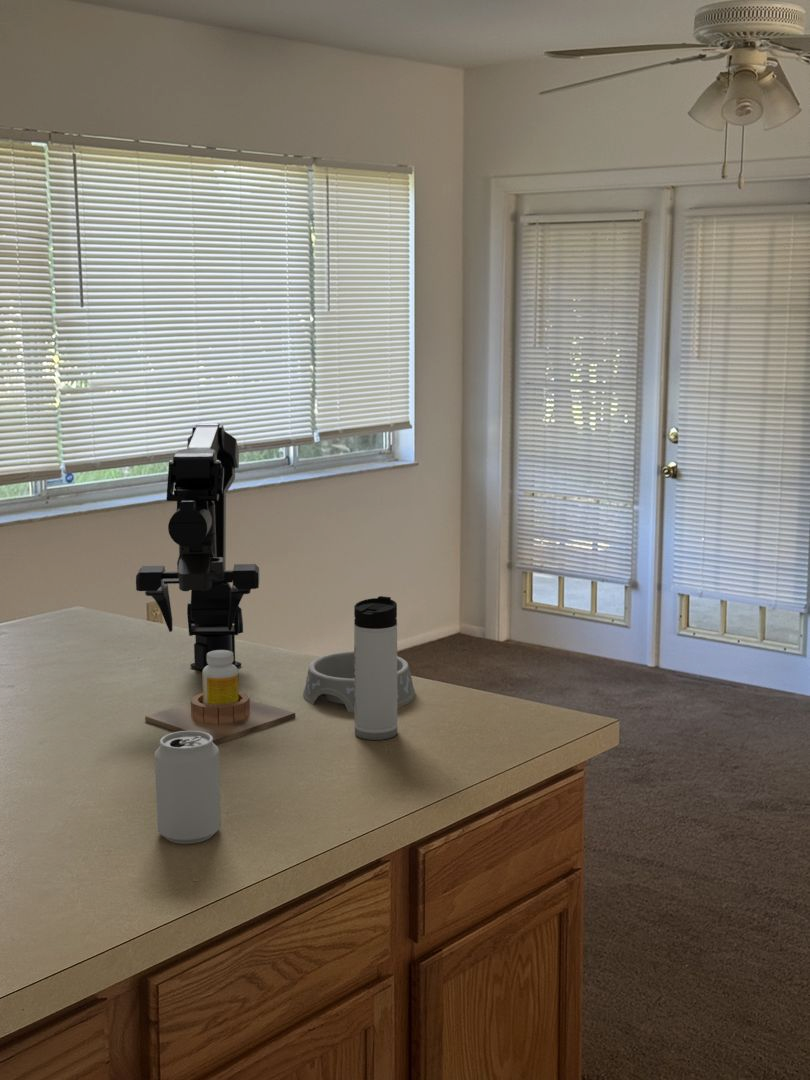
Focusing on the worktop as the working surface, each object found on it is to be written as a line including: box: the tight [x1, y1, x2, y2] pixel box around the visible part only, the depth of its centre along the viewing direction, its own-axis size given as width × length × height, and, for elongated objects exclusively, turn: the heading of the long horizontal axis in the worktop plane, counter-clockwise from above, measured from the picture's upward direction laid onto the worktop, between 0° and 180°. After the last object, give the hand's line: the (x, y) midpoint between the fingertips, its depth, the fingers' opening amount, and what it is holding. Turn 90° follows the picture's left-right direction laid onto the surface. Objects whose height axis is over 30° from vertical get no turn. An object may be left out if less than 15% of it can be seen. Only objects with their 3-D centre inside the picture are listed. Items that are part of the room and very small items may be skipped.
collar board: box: [144, 690, 296, 746], centre depth 190 cm, size 16×16×3 cm
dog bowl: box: [302, 650, 416, 713], centre depth 203 cm, size 17×18×5 cm
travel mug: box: [353, 595, 398, 741], centre depth 183 cm, size 6×7×20 cm
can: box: [154, 731, 222, 845], centre depth 149 cm, size 8×8×12 cm
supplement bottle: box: [201, 650, 239, 706], centre depth 190 cm, size 5×5×10 cm
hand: (200, 630), depth 197 cm, fingers open, 9 cm apart
